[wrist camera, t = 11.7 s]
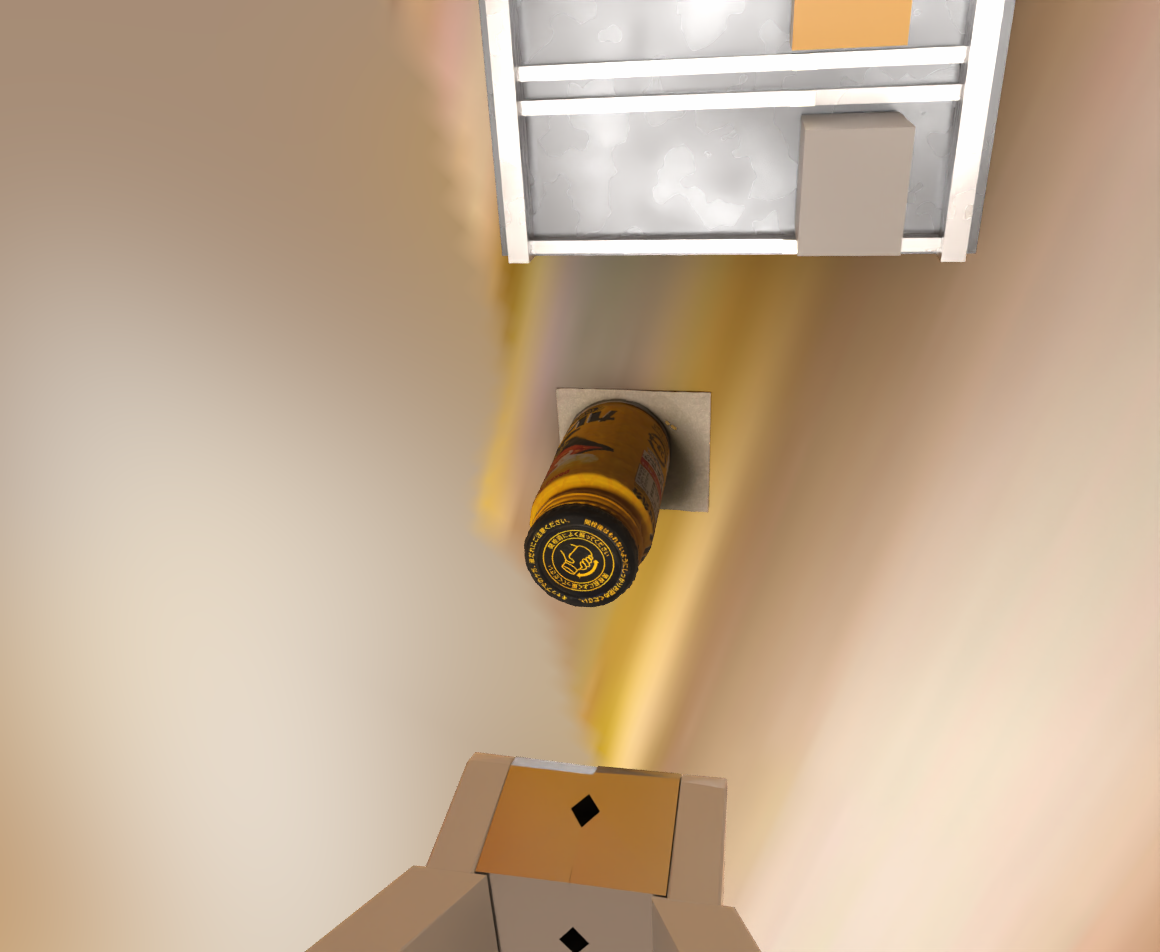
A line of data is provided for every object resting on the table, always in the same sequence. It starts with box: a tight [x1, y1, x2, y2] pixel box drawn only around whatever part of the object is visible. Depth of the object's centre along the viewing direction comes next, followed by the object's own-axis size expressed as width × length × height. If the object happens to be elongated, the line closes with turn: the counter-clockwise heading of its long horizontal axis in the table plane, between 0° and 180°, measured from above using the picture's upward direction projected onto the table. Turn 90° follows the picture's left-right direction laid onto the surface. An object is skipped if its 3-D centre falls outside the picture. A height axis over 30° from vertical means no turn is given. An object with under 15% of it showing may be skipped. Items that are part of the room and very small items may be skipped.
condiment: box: [524, 388, 711, 607], centre depth 45 cm, size 7×8×12 cm
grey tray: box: [479, 0, 1015, 263], centre depth 39 cm, size 22×15×3 cm
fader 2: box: [795, 111, 916, 256], centre depth 37 cm, size 4×5×5 cm
